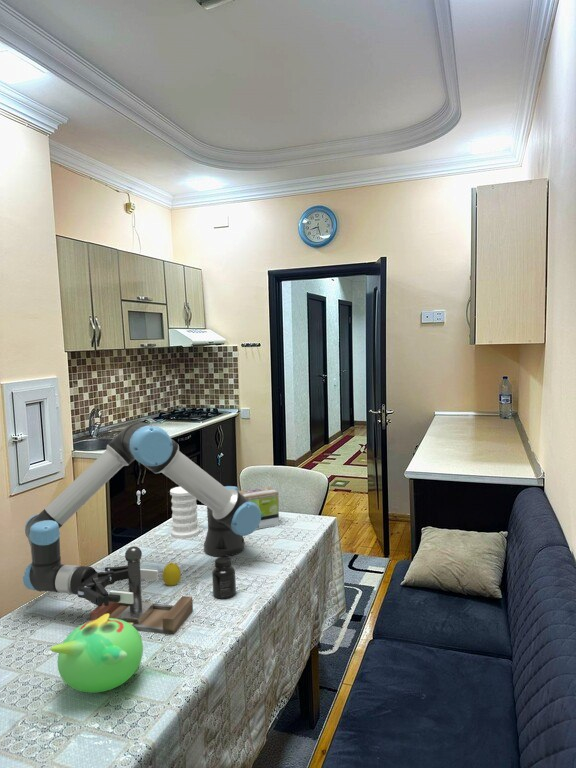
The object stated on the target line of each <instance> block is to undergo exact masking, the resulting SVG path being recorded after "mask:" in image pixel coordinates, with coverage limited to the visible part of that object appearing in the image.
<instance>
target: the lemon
mask: <svg viewBox="0 0 576 768" xmlns="http://www.w3.org/2000/svg"><path fill="white" fill-rule="evenodd" d="M181 575H182V573H181V569H180V567H179V565H178V564H177V563H174V562H169V563H168V564H166V565H165V566H164V568H163V571H162V580H163V584H165V585H166V586H167V587H168V586H169V587H171V586H172V587H173V586H176V585H178V584H179V583H180V580H181V578H182V577H181Z"/></svg>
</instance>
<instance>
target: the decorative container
mask: <svg viewBox="0 0 576 768" xmlns="http://www.w3.org/2000/svg"><path fill="white" fill-rule="evenodd" d="M169 495H170V496H171V500H170V502H171V511H172V514H171V518H172V529H171V530H170V536H171V537H172V538H174V539H175V538H176V539H189V538H193V537H196V536H198V535H199V534H200V533H201V529H200V528H201V527H199V526H198V523H199V521H198V511H197V509H198V505H197V501H198V499H196V498H195V497H194V496H192V495H191V494H190V493H188V492H187V491H186V490H184V489H183V488H182V487H180V486H175V487H172V488H170V490H169Z"/></svg>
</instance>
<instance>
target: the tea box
mask: <svg viewBox="0 0 576 768" xmlns="http://www.w3.org/2000/svg"><path fill="white" fill-rule="evenodd" d="M238 491H239V493H240V494H241V495H243V496H244V497H245V498H246V499H248V500H249V501H251V502H254V503H255V504H256V505H257V506H258V507H259V508H260V511H261V521H260V523H259V526H258V527H257V529H256V530H259V529H265V528H272V527H278V526H279V521H280V520H279V519H280V518H279V515H280V512H279V491H277V490H275V489H273V488H272V487H270V486H264V487H263V486H262V487H258V488H250V489H245V490H238ZM277 525H278V526H277Z"/></svg>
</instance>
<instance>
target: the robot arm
mask: <svg viewBox="0 0 576 768" xmlns="http://www.w3.org/2000/svg"><path fill="white" fill-rule="evenodd" d="M135 460H136V462H138V463H139V464H141V465H143V466H144V467H145V468H147V469H148V470H149V471H151V472H152V473H154V474H160V473H162V474H163V475H164V476H165V477H167V478H169V479H170V480H171V481H172V482H174V483H175V484H176V485H178V487H182V488H183V489H184V490H186V491H187V492H188V493H190V494H191V495H192V496H194V497H195V498H196V499H197V501H199V502H201V504H202V505H204V506H206V513H207V516H206V517H207V532H206V535H205V541H204V543H203V551H204V553H205V554H206V555H208V556H213V557H219V558H220V557H231V556H235V555H237V554H240V553H241V552H243V551H244V550H245V548H246V544H245V543H246V542H245V538H244V537H245V536H249V535H251V534H253V533H254V532H255V531H256V530H258V529H257V527H258V526H259V523H260V521H261V511H260V508H259V507H258V506H257V505H256V504H255V503H254V502H251V501H249V500H248V499H246V498H245V497H244V496H243V495H241V494H240V493H239V491H240V490H239V488H238V487H237V486H233V485H226V486H224V485H223V484H222V483H220V482H219V481H218V480H217V479H215V478H214V477H213V476H212V475H210V474H209V473H208V472H207V471H205V470H204V469H202V468H201V467H200V466H199V465H198V464H196V463H195V462H194V461H192V460H191V459H190V458H189V457H188V456H187V455H185V454H183V453H182V452H181V451H180V446H179V444H178V442H176V441H175V440H174V439H172V438H171V436H170V435H169V434H168V432H167V431H166V430H164V429H163V428H162V427H159V426H155V425H152V424H149V423H148V422H142V421H137V422H134V423H130V424H128V425H127V426H126V427H124V428H123V429H122V430H121V431H120V432H119V433H118V434H116V435H115V437H113V438H112V440H110V442H109V443H107V445H106V448H105V450H104V452H103V453H102V454H100V456H98V457H97V459H95V460H94V461H93V462H92V463H91V464H90V465H88V467H87V468H86V469H85V470H84V471H83V472H82V473H81V474H80V475H78V476H77V478H75V479H74V480H73V481H72V482H71V483H70V484H69V485H68V486H67V487H66V488H65V489H64V490H63V491H62V492H61V493H59V495H57V497H55V498H54V499H53V501H51V502H50V503H49V504H48V505H47V506H46V507H45V508H44V509H43V510H42V511H40V512H39V513H37V514H34V515H32V516H30V517H29V518H28V519H27V521H26V523H25V526H24V532H25V537H26V538H27V539H28V541H27V542H28V544H29V547H30V553H31V563H30V564H28V565H27V566H26V568H25V569H24V574H23V576H22V583H23V585H24V587H25V588H26V589H27V590H32V591H37V592H49V593H58V594H59V593H61V594H67V595H70V594H71V595H73V594H74V595H77V596H78V598H82V599H84V600H86V601H89V602H90V603H92V604H93V605H94V606H96V607H98V606H102V603H104V606H108V605H109V602H117V603H126V604H133V603H134V598H133V593H132V592H129V591H119V590H110V591H109V592H108V590H107V589H106V587H107V586H109V585H114V584H115V583H116V582H120V581H125V580H128V565H123V566H114V567H113V566H106V567H104V571H99V572H98V571H97V570H96V569H95V568H94V567H92V566H86V565H75V564H74V565H73V564H65V563H64V564H63V563H62V560H61V559H62V558H61V539H60V538H61V537H60V536H61V531H60V529H61V528H62V527H63V526H64V525H65V523H67V521H69V520H70V519H71V518H72V517H73V516H74V515H75V514H76V512H78V511H79V510H80V509H81V508H82V507H83V506H84V505H85V504H86V503H87V502H88V501H89V500H90V499H91V498H92V497H93V496H94V495H95V494H96V493H98V492H99V490H100V489H102V487H103V486H104V485H105V484H106V483H108V482H109V481H110V480H111V478H113V477H114V476H115V475H116V474H117V473H118V472H119V471H120V470H121V469H122V468H123V467H126V466H127V467H128V466H130V464H132V463H133V462H134V461H135ZM140 574H141V580H145V581H146V580H147V581H148V580H149V581H158V580H159V570H158V569H147V568H140Z"/></svg>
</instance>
